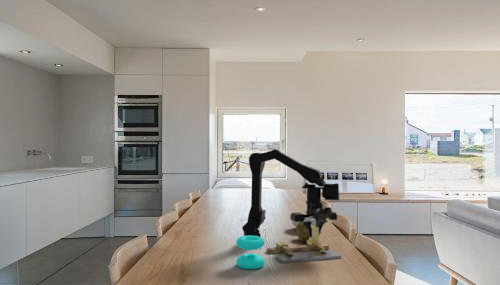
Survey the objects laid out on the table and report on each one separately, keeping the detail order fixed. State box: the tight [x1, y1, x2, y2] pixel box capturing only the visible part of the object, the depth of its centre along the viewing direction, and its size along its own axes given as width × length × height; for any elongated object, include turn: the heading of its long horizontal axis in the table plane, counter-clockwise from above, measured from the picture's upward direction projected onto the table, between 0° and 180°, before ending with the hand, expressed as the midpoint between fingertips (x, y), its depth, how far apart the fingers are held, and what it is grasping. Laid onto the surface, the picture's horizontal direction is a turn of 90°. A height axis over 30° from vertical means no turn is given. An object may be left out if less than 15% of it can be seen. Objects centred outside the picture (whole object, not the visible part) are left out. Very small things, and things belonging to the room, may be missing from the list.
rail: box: [266, 241, 330, 255], centre depth 152 cm, size 26×12×3 cm, turn 105°
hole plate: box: [274, 249, 342, 264], centre depth 146 cm, size 24×8×1 cm, turn 105°
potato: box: [295, 222, 309, 244], centre depth 171 cm, size 8×13×8 cm, turn 172°
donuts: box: [235, 235, 265, 270], centre depth 136 cm, size 10×10×10 cm
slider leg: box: [306, 226, 326, 252], centre depth 154 cm, size 4×12×8 cm, turn 15°
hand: (313, 237), depth 157 cm, fingers closed on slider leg, 3 cm apart
